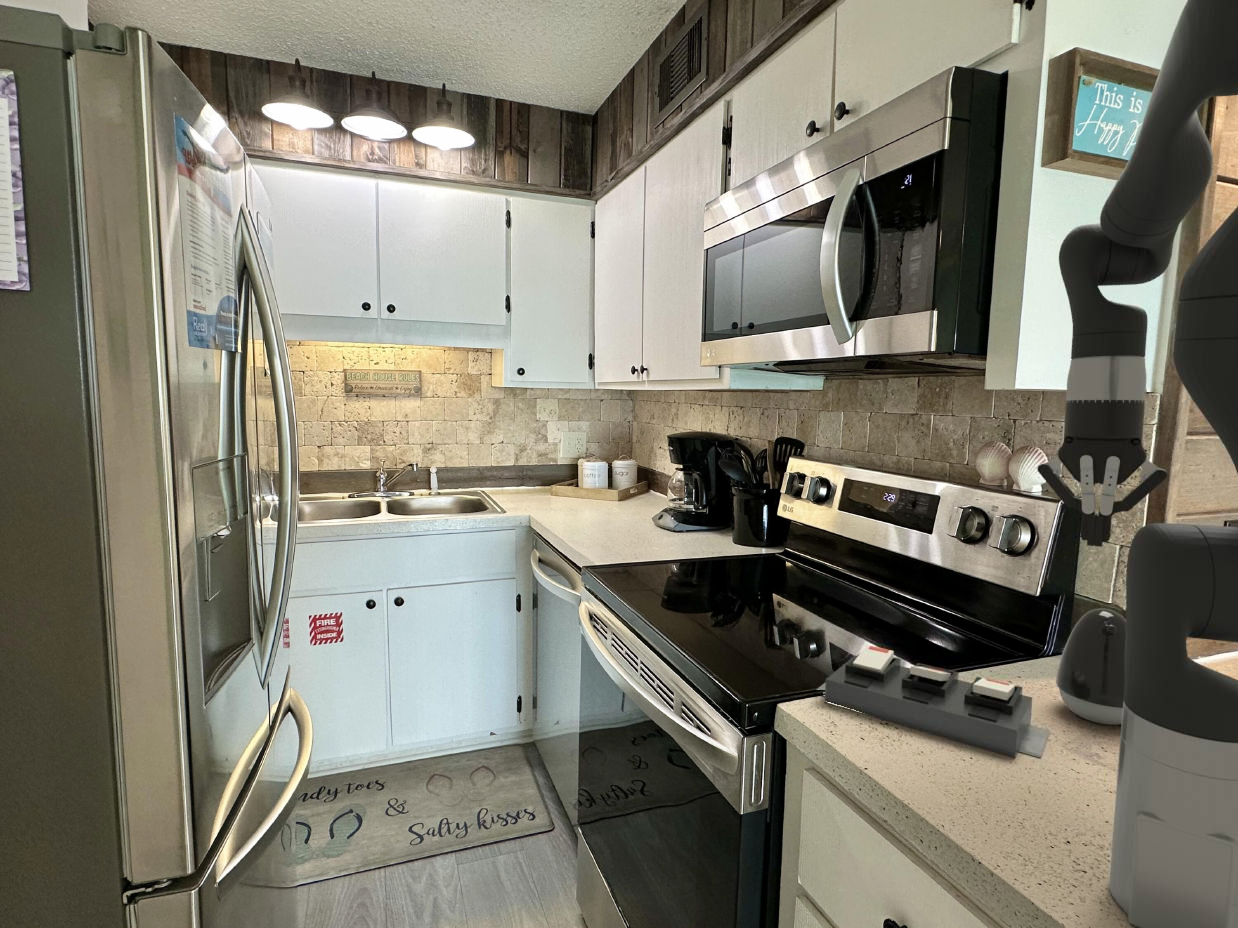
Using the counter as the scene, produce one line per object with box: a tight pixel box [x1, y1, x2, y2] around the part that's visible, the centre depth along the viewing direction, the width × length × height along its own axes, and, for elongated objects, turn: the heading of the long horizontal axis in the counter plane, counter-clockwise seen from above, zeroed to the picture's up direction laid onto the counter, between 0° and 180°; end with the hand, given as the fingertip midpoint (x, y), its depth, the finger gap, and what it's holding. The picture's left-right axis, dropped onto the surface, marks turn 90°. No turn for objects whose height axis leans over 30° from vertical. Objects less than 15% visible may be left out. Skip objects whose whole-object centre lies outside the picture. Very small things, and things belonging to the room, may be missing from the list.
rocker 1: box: [853, 644, 895, 672], centre depth 102 cm, size 6×4×1 cm, turn 141°
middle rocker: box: [910, 665, 951, 681], centre depth 97 cm, size 6×4×1 cm, turn 141°
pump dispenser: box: [1055, 607, 1126, 726], centre depth 94 cm, size 10×10×15 cm
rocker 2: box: [973, 677, 1016, 700], centre depth 92 cm, size 6×4×1 cm, turn 141°
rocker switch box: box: [816, 653, 1051, 759], centre depth 95 cm, size 12×29×5 cm, turn 51°
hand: (1095, 545), depth 81 cm, fingers closed
